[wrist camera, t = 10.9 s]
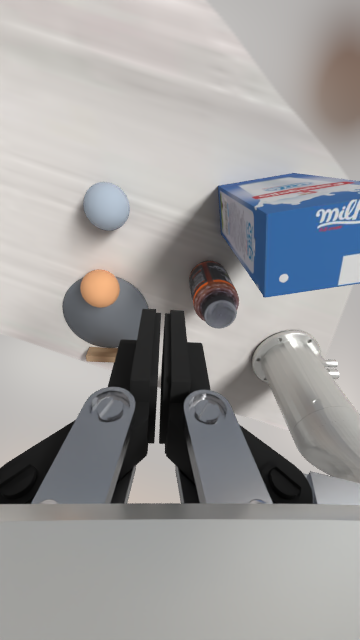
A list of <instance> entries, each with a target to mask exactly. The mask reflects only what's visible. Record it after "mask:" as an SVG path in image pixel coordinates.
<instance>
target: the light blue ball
mask: <svg viewBox="0 0 360 640" xmlns="http://www.w3.org/2000/svg"><path fill="white" fill-rule="evenodd" d="M83 206H84V211H85V214H86V216H87V218H88V219H89V221H90V222H91V223H92V224H93V225H95V226H96V227H98V228H100V229H102V230H115V229H118V228H120V227H121V226H122V225H123V224H124V223H125V222H126V220H127V219H128V216H129V211H130V207H129V202H128V199H127V196H126V195H125V193H124V192H123V191H122V190H121V189H120V188H119V187H118V186H116V185H114V184H112V183H109V182H100V183H96V184H94V185H93V186H91V187H90V188H89V189H88V190H87V192H86V194H85V196H84V202H83Z"/></svg>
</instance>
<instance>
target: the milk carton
mask: <svg viewBox="0 0 360 640" xmlns="http://www.w3.org/2000/svg"><path fill="white" fill-rule="evenodd" d="M218 193H219V208H220V224H221V235H222V236H223V237H224V239H225V240H226V242H227V243H228V245H229V246H230V248H231V249H232V251H233V252H234V254H235V255H236V256H237V258H238V259H239V261H240V262H241V264H242V265H243V267H244V268H245V270H246V271H247V272H248V274H249V275H250V277H251V278H252V280H253V281H254V283H255V284H256V286H257V287H258V288H259V290H260V291H261V293H262V294H263V297H271V296H278V295H285V294H292V293H298V292H305V291H312V290H319V289H325V288H332V287H339V286H346V285H353V284H359V283H360V181H353V180H345V179H337V178H329V177H321V176H313V175H305V174H297V173H292V174H286V175H280V176H274V177H268V178H262V179H256V180H250V181H244V182H239V183H233V184H227V185H221V186H218Z"/></svg>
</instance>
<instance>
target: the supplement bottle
mask: <svg viewBox="0 0 360 640" xmlns="http://www.w3.org/2000/svg"><path fill="white" fill-rule="evenodd" d="M189 284H190V289H191V294H192V300H193V304H194V309H195V311H196V314H197V315H198V316H199V317H200V318H201V319H202V320H204V321H206V323H207V324H208V325H209V326H211V327H213V328H224V327H227V326H229V325H230V324H231V323H232V322H233V321H234V320H235V318H236V314H237V308H238V305H239V297H238V294H237V291H236V289H235V287H234V285H233V284H232V282H231V280H230V278H229V276H228V274H227V272H226V270H225V269H224V268H223V267H222V266H221V265H220V264H219V263H217V262H214V261H206V262H202V263H200V264H198V265H197V266H196V267H195V268H194V269H193V270H192V272H191V274H190V278H189Z"/></svg>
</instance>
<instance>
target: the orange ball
mask: <svg viewBox="0 0 360 640" xmlns="http://www.w3.org/2000/svg"><path fill="white" fill-rule="evenodd" d="M80 289H81V294H82V296H83V298H84V300H85V301H86V302H87V303H89V304H90V305H92V306H94V307H99V308H102V307H107V306H110V305H111V304H113V303H114V302H115V301H116V300H117V298H118V296H119V292H120V286H119V283H118V280H117V279H116V277H115V276H114V275H113V274H111V273H110V272H108V271H105V270H94V271H91V272H89V273H88V274H86V275H85V277H84V278H83V280H82V282H81V287H80Z"/></svg>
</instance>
